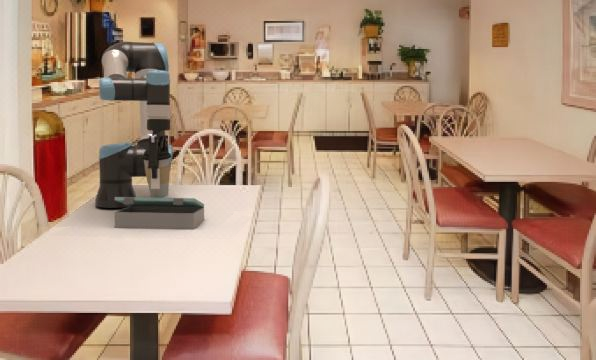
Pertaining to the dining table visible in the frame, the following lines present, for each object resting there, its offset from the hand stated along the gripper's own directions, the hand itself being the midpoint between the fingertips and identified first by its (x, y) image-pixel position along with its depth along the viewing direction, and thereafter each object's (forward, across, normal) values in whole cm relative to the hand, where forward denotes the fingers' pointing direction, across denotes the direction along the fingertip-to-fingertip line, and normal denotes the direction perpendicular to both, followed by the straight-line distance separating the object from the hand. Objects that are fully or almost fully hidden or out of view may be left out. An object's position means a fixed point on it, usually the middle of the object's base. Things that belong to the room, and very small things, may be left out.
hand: (159, 187), depth 204 cm
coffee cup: (+3, -1, 0) cm, 4 cm away
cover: (+7, -9, 0) cm, 11 cm away
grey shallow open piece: (+13, -1, 0) cm, 13 cm away
